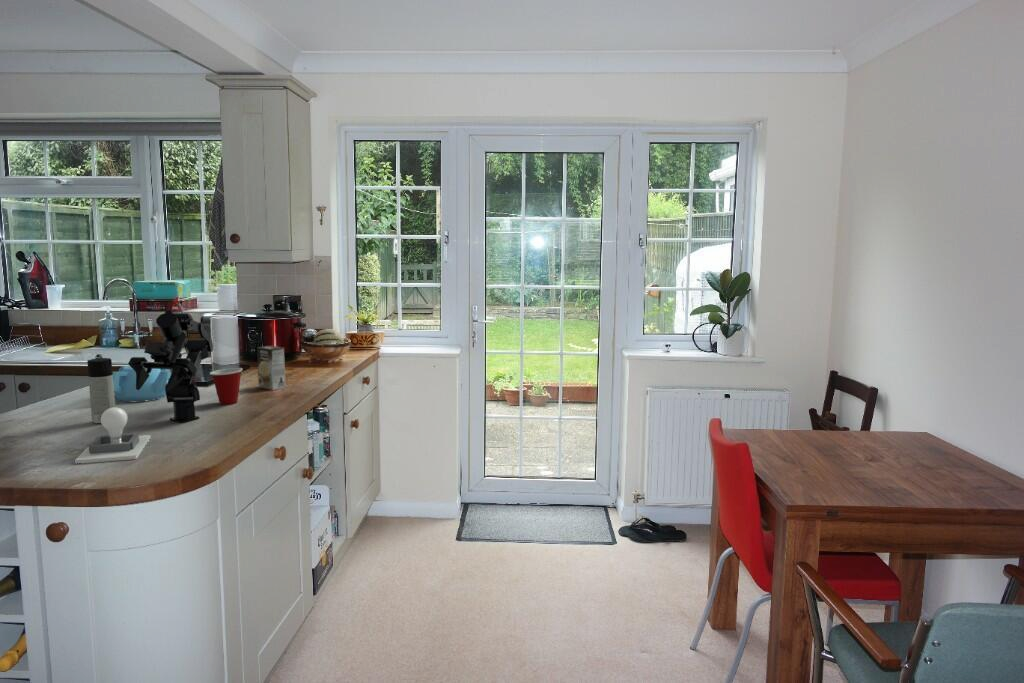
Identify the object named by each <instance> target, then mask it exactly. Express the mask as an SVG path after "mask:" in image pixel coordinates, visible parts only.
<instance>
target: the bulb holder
mask: <svg viewBox="0 0 1024 683" xmlns="http://www.w3.org/2000/svg"><path fill="white" fill-rule="evenodd" d="M151 438H152V437H151V434H145V435H139V434H138V432H137V433H125V434H123V433H122V435H121V440H122V443H115V444H111V441H110V436H109V435H100V436H98V437H96V438H94V439H93V440H92V441H91V442H90V443H89V444H88V446H87V447H86V448H85V449H84V450H83V451H82V453H80V454H79V456H77V458H75V459H74V464H75V465H79V463H81V464H91V463H103V462H116V461H128V460H129V461H130V460H136V459H138V457H139V456H140V454H142V452H143V450H144V449H143V448H145V447H146V446H147V445H148V443H149V441H150V440H151ZM149 439H150V440H149ZM147 442H148V443H147ZM145 445H146V446H145ZM77 463H78V464H77Z"/></svg>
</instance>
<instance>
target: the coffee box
mask: <svg viewBox="0 0 1024 683" xmlns="http://www.w3.org/2000/svg"><path fill="white" fill-rule="evenodd" d="M256 349H257V350H256V352H257V353H256V354H257V357H256V358H257V377H258V378H257V379H258V380H257V381H258V382H257V383H258V388H263V389H265V390H271V391H274V390H278V389H284V388H286V368H285V347H283V346H282V347H281V346H277V345H276V346H275V345H264V346H258V347H256Z"/></svg>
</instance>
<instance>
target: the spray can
mask: <svg viewBox="0 0 1024 683" xmlns="http://www.w3.org/2000/svg"><path fill="white" fill-rule="evenodd" d="M86 362H87V373H88V374H87V375H88V376H87V377H88V387H89V389H88V390H89V397H90V398H89V399H90V400H89V401H90V410H91V412H90V413H91V420H92V423H93V422H94V423H93V424H97V423H101V415H102V414H103V412H104V411H105V410H107V409H109V408H112V407H116V396H115V395H114V382H113V372H114V371H113V362H112V359H111V358H110V357H109V358H108V357H99V358H98V357H97V358H92V359H87V361H86Z"/></svg>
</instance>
